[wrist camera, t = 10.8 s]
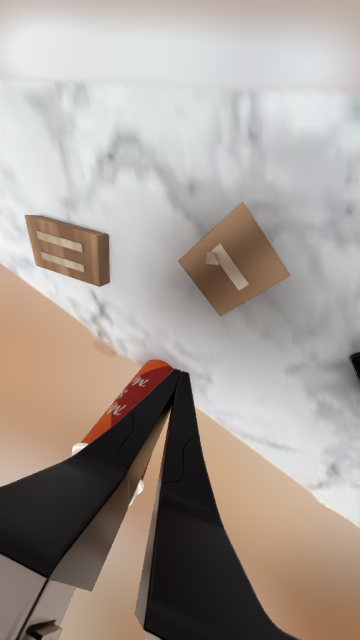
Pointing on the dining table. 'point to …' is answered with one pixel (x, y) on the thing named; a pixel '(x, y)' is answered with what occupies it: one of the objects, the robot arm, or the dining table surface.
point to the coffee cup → (128, 404)
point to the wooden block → (69, 249)
